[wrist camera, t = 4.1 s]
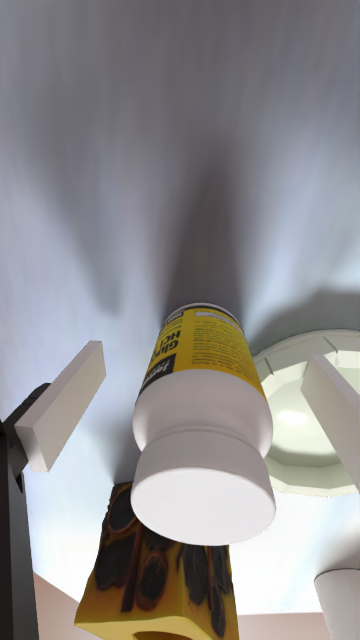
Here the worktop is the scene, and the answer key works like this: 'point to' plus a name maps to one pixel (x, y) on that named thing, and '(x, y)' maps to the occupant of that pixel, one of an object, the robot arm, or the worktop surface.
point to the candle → (155, 584)
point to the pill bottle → (203, 433)
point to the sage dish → (305, 412)
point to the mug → (340, 602)
